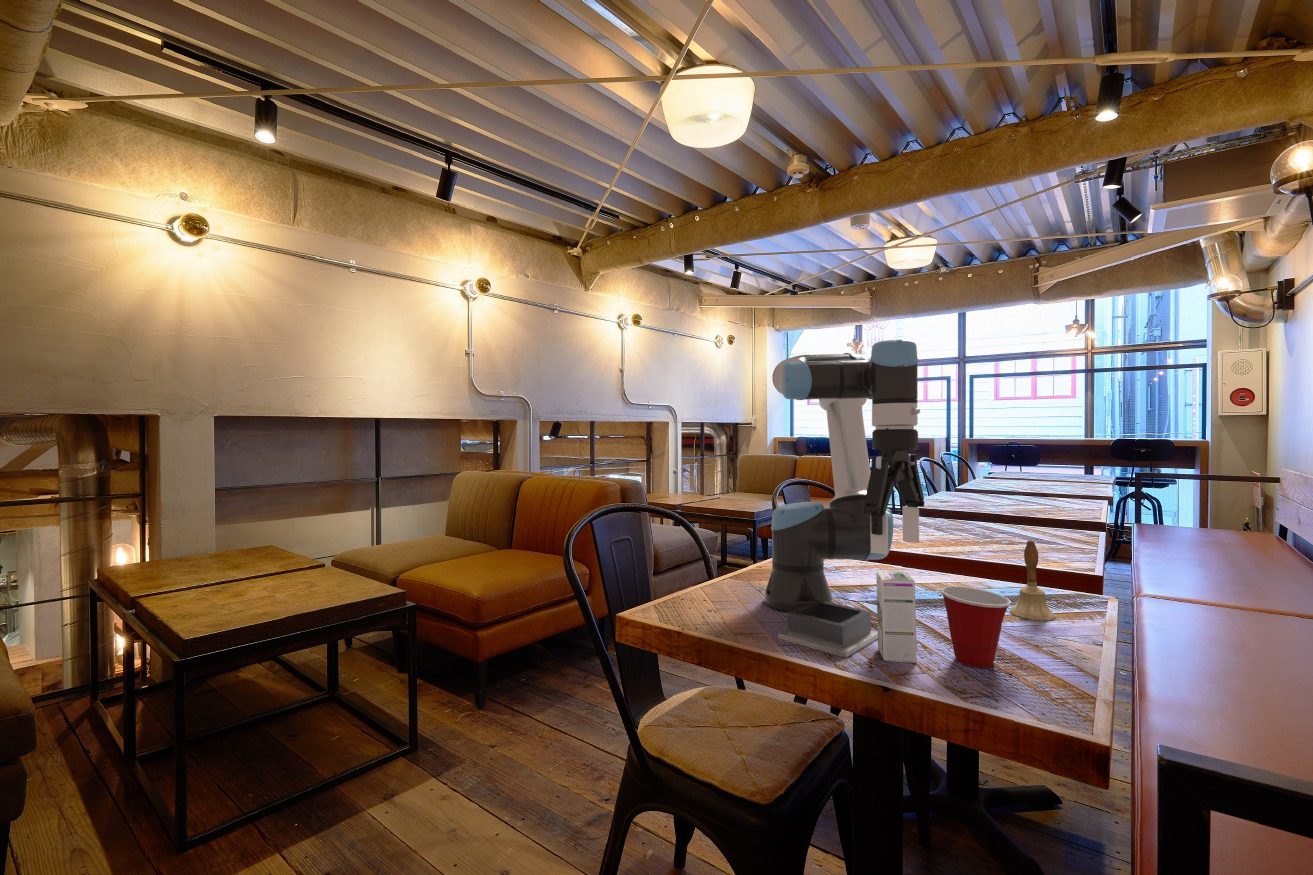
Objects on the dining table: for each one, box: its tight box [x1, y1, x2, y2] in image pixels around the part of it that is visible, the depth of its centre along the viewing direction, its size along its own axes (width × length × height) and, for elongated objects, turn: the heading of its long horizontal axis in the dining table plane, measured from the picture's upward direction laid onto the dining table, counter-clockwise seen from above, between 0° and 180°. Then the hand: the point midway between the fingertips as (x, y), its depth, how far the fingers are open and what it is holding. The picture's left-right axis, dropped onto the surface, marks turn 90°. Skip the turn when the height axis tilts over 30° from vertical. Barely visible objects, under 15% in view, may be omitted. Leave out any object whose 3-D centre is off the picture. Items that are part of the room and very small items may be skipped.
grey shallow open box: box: [778, 600, 878, 659], centre depth 112 cm, size 14×14×5 cm
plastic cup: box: [940, 585, 1012, 669], centre depth 100 cm, size 11×11×12 cm
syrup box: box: [876, 571, 918, 664], centre depth 103 cm, size 6×6×14 cm
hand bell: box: [1009, 540, 1056, 622], centre depth 124 cm, size 8×8×16 cm
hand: (895, 547), depth 102 cm, fingers open, 13 cm apart
